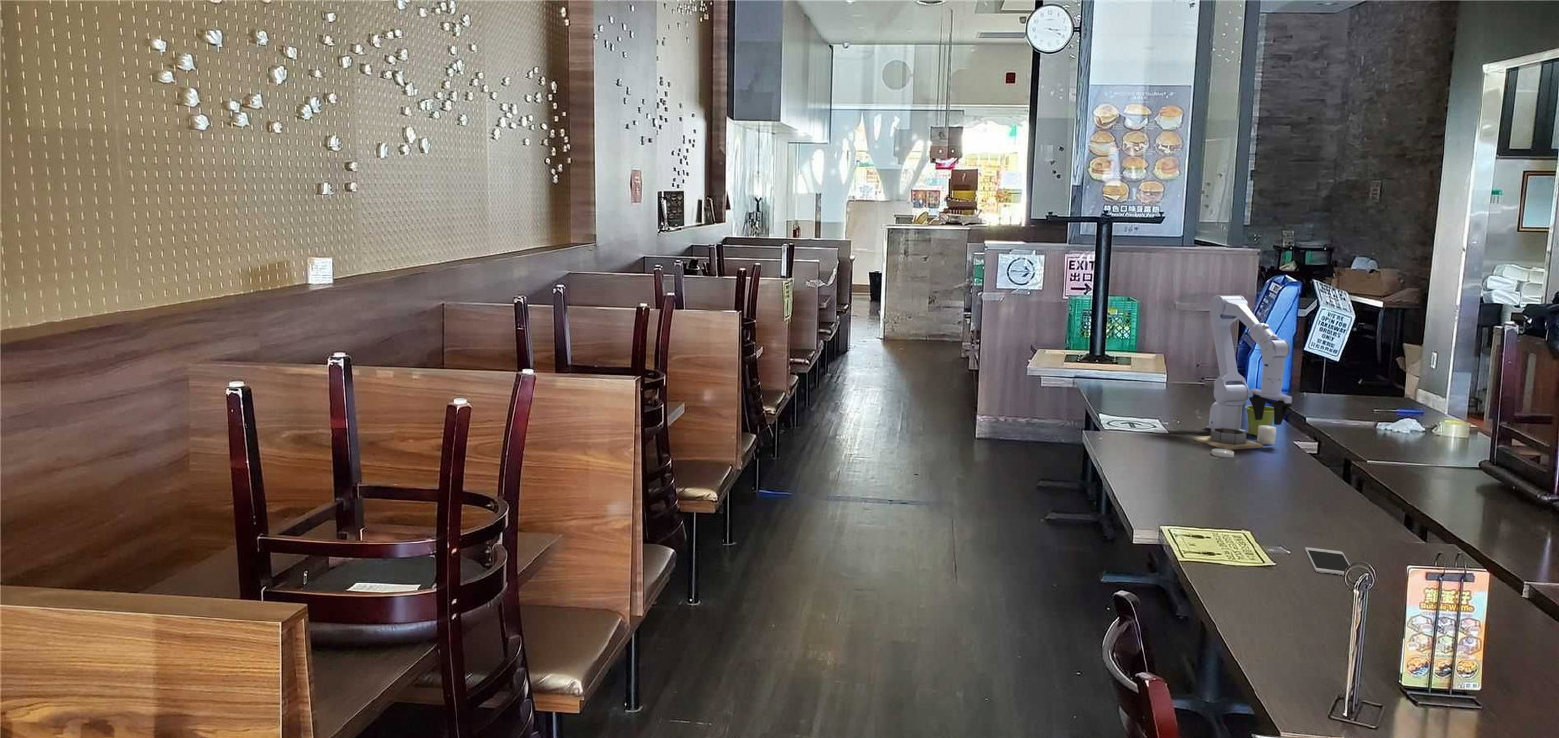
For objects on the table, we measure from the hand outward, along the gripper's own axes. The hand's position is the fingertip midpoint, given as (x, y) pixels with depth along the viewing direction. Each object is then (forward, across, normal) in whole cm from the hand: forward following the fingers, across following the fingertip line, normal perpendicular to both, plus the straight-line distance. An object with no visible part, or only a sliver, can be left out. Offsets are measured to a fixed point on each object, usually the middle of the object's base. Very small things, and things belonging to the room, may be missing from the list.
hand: (1268, 422), depth 324 cm
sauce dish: (+7, +10, -26) cm, 29 cm away
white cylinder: (+7, 0, 0) cm, 7 cm away
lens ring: (+6, -2, -13) cm, 15 cm away
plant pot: (+7, -10, +7) cm, 14 cm away
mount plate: (+6, -2, -13) cm, 15 cm away
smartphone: (+8, +92, -74) cm, 118 cm away
